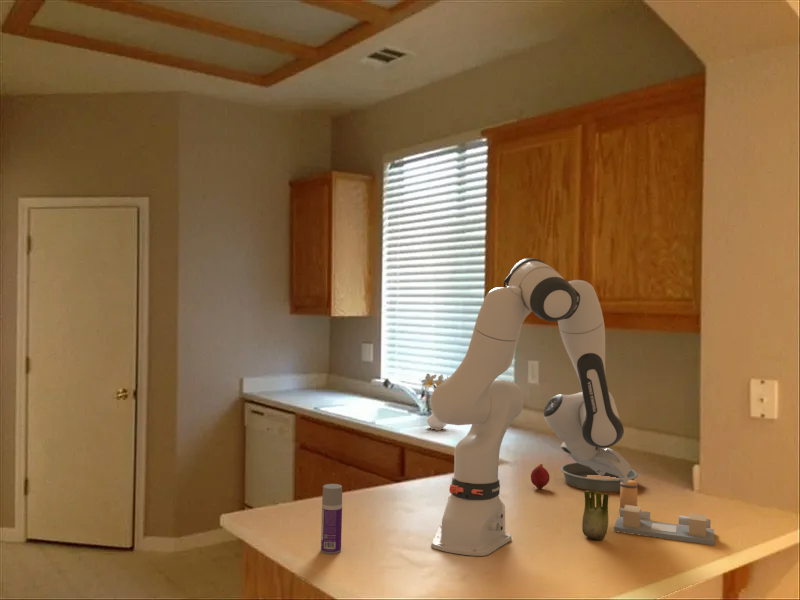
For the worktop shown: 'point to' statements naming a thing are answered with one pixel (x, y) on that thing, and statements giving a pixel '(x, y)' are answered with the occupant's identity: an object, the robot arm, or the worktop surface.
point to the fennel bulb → (595, 516)
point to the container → (331, 519)
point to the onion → (540, 476)
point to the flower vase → (430, 382)
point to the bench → (665, 526)
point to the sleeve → (628, 493)
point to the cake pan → (579, 472)
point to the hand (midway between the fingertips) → (614, 477)
